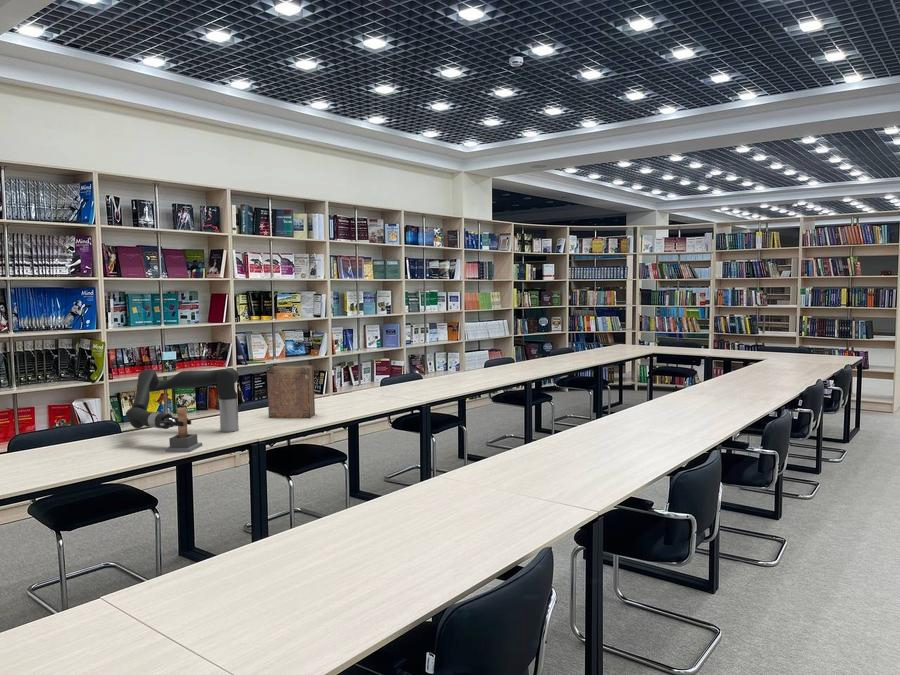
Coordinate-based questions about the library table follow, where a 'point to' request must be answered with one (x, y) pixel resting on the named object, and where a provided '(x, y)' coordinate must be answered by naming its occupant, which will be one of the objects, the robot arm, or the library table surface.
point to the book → (291, 391)
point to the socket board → (183, 444)
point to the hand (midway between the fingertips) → (186, 423)
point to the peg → (183, 418)
